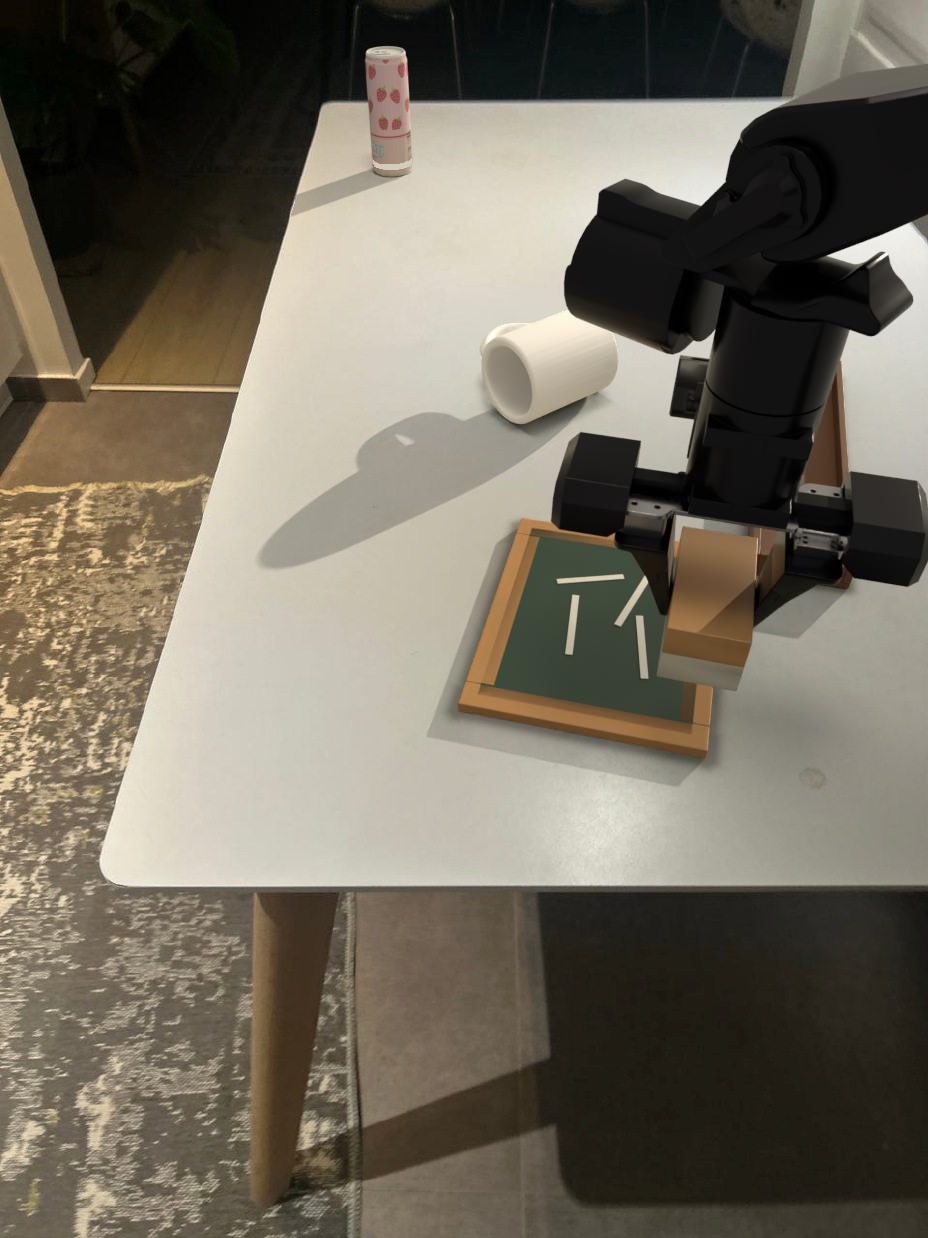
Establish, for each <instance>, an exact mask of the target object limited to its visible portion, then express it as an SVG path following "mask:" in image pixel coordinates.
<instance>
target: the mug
mask: <svg viewBox="0 0 928 1238" xmlns="http://www.w3.org/2000/svg"><path fill="white" fill-rule="evenodd" d="M479 354H480V356H481V375H482V381H483V384H484V388H485V390H486V394H487V395H488V397H489V400H490V402H491V403H492V404H493V406H494V407H495V409H496V410H497V412H498V413H499V414H501V416H502V417H504V418H505V419H506V420H508V421H509V422H510V423H513V424H517V425H525V424H528V423H530V422H532V421H535V420H536V419H539V418H541V417H543V416H546V415H548V414H551V413H553V412H555V411H557V410H559V409H562V408H564V407H566V406H568V405H571V404H573V403H575V402H577V401H579V400H582V399H584V398H586V397H588V396H591V395H594V394H595V393H599V392H600V391H602V390H604V389H606V388H608V386H610V385H611V384H612V382H613V381H614V379H615V377H616V376H617V372H618V368H619V350H618V344H617V341H616V338H615V335H614V333H613V332H611V331H608V330H606V329H603V328H601V327H598V326H596V325H593V324H590V323H588V322H585V321H583V320H580V319H578V318H576V317H574V316H573V315H572V314H571V313H570V312H569V310H568V309H565V310H563V311H560V312H558V313H555V314H552V315H549V316H548V317H545V318H541V319H539V320H537V321H533V322H532V323H527V322H512V323H511V322H510V323H505V324H501V325H499V326H496V327H494V328H493V329H491V330H490V331H489V332H488V333H487V334H486V335H485V336H484V337H483V339H482V341H481V342H480V345H479Z"/></svg>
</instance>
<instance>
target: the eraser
mask: <svg viewBox="0 0 928 1238" xmlns="http://www.w3.org/2000/svg"><path fill="white" fill-rule="evenodd" d="M678 542H679V545H678V550H677V554H676V559H675V563H674V568H673V585H672V591H671V598H670V604H669V608H668V612H667V615H666V618H665V624H664V631H663V637H662V644H661V650H660V657H659V663H658V669H657V676H658V677H663V678H669V679H674V680H679V681H684V682H690V683H695V684H700V685H705V686H710V687H713V688H716V689H722V690H727V691H732V692H737V691H738V688H739V685H740V682H741V680H742V675H743V673H744V671H745V666H746V663H747V659H748V657H749V655H750V651H751V648H752V645H753V638H754V637H753V636H754V635H753V633H754V628H753V620H754V602H755V585H756V582H757V575H756V568H757V551H758V538H755V537H749V535H747V536H746V535H741V534H736V533H735V534H734V533H729V532H723V531H716V530H711V529H704V528H697V527H691V526H686V525H683V526H681V531H680V536H679V541H678Z"/></svg>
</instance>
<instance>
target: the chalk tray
mask: <svg viewBox="0 0 928 1238" xmlns="http://www.w3.org/2000/svg"><path fill="white" fill-rule="evenodd" d="M845 403H846V402H845V389H844V372H843V361H842V360H840V362H839V365H838V369H837V372H836V375H835V378H834V381H833V384H832V387H831V390H830V394H829V397H828V400H827V404H826V407H825V410H824V413H823V416H822V419H821V422H820V426H819V429H818V432H817V435H816V438H815V441H814V444H813V448H812V451H811V454H810V457H809V460H808V463H807V466H806V470H805V473H804V476H803V479H802V482H801V485H800V487H801V486H802V485H804V484H808V483H812V484H819V485H826V486H833V487H840V488H841V485H842V483H843V480H844V477H845V475H846V474H847V473H849V472H850V461H849V447H848V434H847V432H848V431H847V418H846V405H845ZM777 532H778V531H775V530H768V529H762V528H756V527H749V526H748V537H755V538H758V551H757V568H756V576H757V575H758V576H759V575H760V573H761V571H762V568H763V566H764V564H765V562H766V559H767V557H768V555H769V553H770V551H771V548H772V546H773V544H774V541H775V538H776V535H777ZM843 548H844V550H845V548H846V547H843ZM844 550H843V553H844ZM843 553H842V555H843ZM853 579H854V578H853V576H852V575H851V574H850V573H849V572H848V570H847V569H846V568H845V567H844V565H843V576H842V578H841V580H840V582H839V583H838V584H835V585H826V584H820V585H821V586H828V587H835V588H840V589H849V588H850V585H851V583H852V580H853Z"/></svg>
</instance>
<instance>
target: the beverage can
mask: <svg viewBox="0 0 928 1238" xmlns="http://www.w3.org/2000/svg"><path fill="white" fill-rule="evenodd" d="M406 52H407V51H406V50H405V49H404V48H403V47H399V46H394V45H393V46H391V45H385V46H384V45H383V46H376V47H371V48H368V49H367V50H366V52H365V59H364V65H365V79H366V92H367V106H368V120H369V121H368V122H369V132H370V147H371V160H372V159H373V160H374V161H375V162H377V163H379V164H400V163H404V162H406V161H409V160H410V159H411V158H412V159H413V150H412V149H413V147H412V132H411V131H412V128H411V110H410V108H411V107H410V90H409V70H408V69H409V68H408V58H407V55H406ZM413 167H414V166H413V163H412V164H411V166H409V167H407V168H404V169H399V170H383V169H379V168H376V167H374V166H373V165H372V170H373V171H374V172H375V173H376V174H377V175H378V176H381V177H387V178H388V177H394V178H395V177H401V176H402V177H403V176H405V175H407V174H409V173H410V172H411V171H412V170H413Z"/></svg>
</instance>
